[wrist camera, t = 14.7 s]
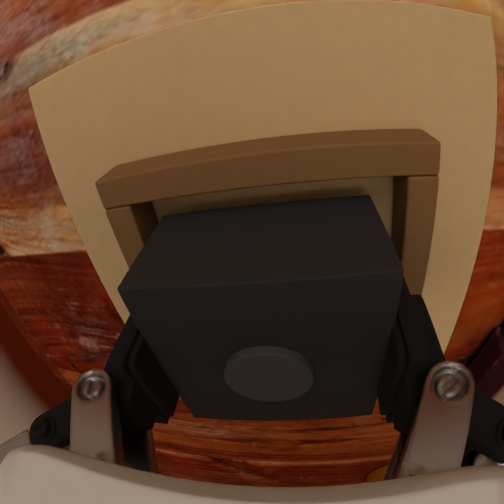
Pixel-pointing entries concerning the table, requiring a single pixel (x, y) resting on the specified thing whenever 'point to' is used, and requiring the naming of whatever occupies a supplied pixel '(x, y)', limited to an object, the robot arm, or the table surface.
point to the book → (490, 367)
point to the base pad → (286, 129)
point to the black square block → (270, 307)
